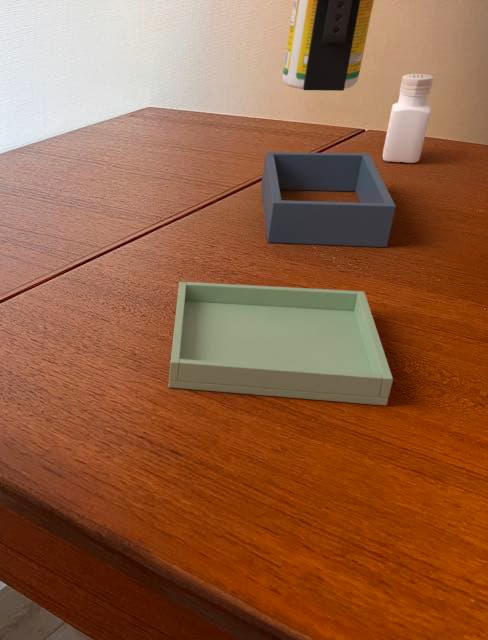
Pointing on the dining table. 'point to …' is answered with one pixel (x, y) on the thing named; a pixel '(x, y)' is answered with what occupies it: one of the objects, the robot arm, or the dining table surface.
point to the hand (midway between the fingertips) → (320, 80)
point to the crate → (326, 217)
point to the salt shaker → (408, 120)
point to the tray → (278, 343)
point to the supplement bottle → (302, 37)
